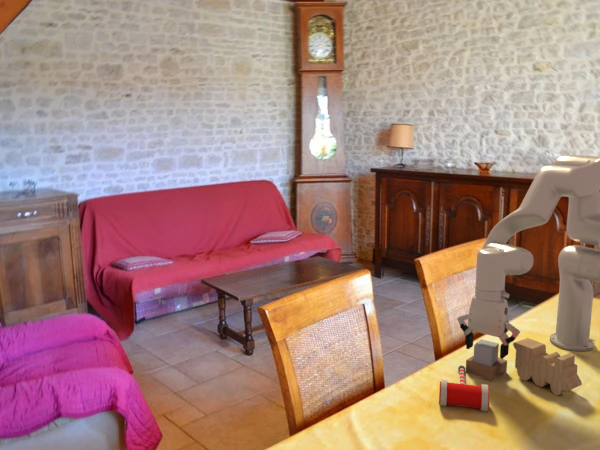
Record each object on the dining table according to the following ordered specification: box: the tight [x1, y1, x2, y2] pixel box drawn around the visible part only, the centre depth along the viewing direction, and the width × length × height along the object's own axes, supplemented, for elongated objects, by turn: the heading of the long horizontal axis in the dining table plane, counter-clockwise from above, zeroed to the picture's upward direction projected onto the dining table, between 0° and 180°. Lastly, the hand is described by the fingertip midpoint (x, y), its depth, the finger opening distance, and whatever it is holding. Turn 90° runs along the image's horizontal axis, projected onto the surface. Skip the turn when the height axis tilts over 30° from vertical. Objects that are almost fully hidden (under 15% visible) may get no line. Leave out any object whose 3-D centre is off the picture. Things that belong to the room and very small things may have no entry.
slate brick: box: [473, 339, 500, 366], centre depth 151 cm, size 5×5×5 cm
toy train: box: [512, 337, 582, 396], centre depth 145 cm, size 6×17×10 cm, turn 32°
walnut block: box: [465, 355, 508, 383], centre depth 153 cm, size 8×8×4 cm
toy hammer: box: [438, 365, 490, 412], centre depth 143 cm, size 23×12×6 cm, turn 165°
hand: (486, 352), depth 151 cm, fingers open, 9 cm apart
